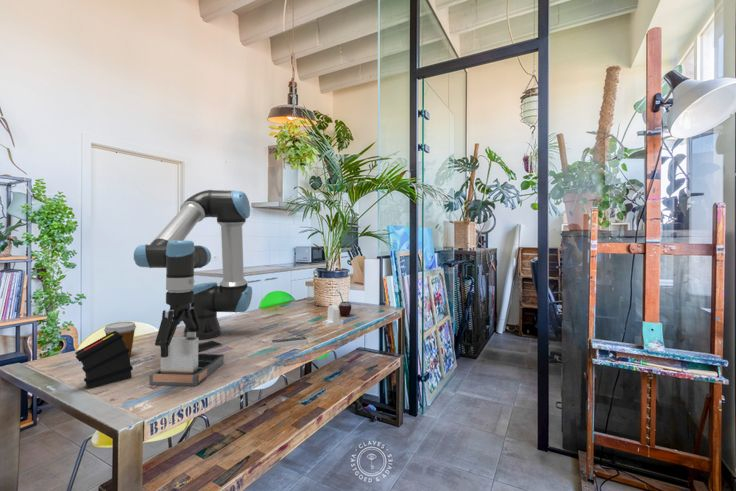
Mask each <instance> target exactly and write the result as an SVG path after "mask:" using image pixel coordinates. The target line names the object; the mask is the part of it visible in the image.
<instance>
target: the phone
mask: <svg viewBox="0 0 736 491" xmlns="http://www.w3.org/2000/svg"><path fill="white" fill-rule="evenodd" d="M219 347H222V343H221V342H218V341H215V340H208V341H204V342H200V343H198V353H201V352H205V351H208V350H212V349H213V350H214V349H216V348H219Z"/></svg>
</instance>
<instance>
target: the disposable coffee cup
mask: <svg viewBox="0 0 736 491" xmlns="http://www.w3.org/2000/svg"><path fill="white" fill-rule="evenodd" d="M136 328H137V326H136V323H135V322H133V321H119V322H118V321H117V322H113V323H108V324H106V325H105V328H103V331H104V333H105V336H106V335H108V334H110V333H112V332H113V331H117V332H118V333H119V334H121V335H122V336H123V337H122V339H123V341H124V343H125V345H126V347H127V348H128V349H129V351H130V352H128V354H129V357H131V355H132V350H133V344H134V339H135V338H134V337H135V330H136Z"/></svg>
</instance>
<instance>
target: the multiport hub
mask: <svg viewBox="0 0 736 491" xmlns="http://www.w3.org/2000/svg"><path fill="white" fill-rule="evenodd" d="M301 345H308V338H307V337H306V336H301V337H300V336H299V337H290V338H288V337H287V338H281V339H271V341H270V346H271V348H272V349H274V348H276V349H278V348H283V347H291V346H301Z"/></svg>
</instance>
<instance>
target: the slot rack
mask: <svg viewBox="0 0 736 491" xmlns="http://www.w3.org/2000/svg"><path fill="white" fill-rule="evenodd" d="M224 362H225V354H217V353H216V354H215V353H214V354H213V353H198V373H196V374H195V375H180V374H161V367H160V368H159V369H157V370H155V371H154V372H152V373H150V374H149V386H171V387H172V386H174V387H175V386H176V387H197V386H198V385H199V384H200V383H201V382H203V381H205V379H206V378H208V377H209V376H210V375H211V374H213V373H214V372H215V371H217V369H218V368H219V367H221V366H222V365H223V364H224Z"/></svg>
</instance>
